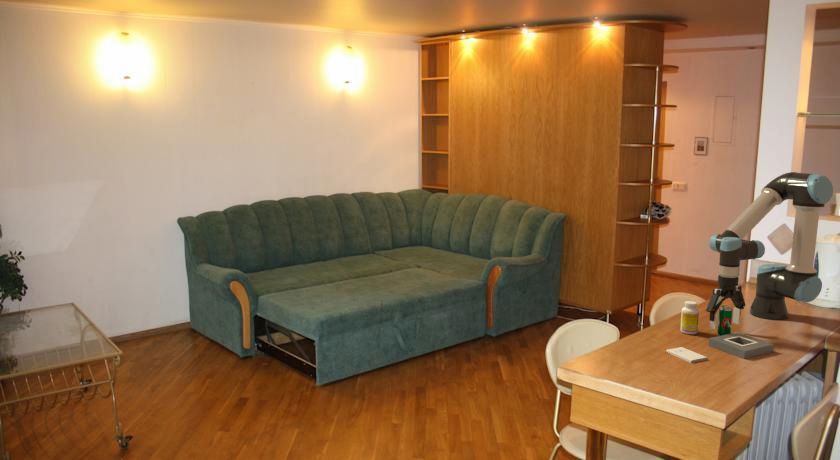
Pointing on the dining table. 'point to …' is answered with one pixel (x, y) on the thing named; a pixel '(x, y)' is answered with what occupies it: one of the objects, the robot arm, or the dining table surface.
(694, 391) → the dining table surface
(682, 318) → the supplement bottle
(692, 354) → the external hard drive
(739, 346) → the socket board
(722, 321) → the soda can
